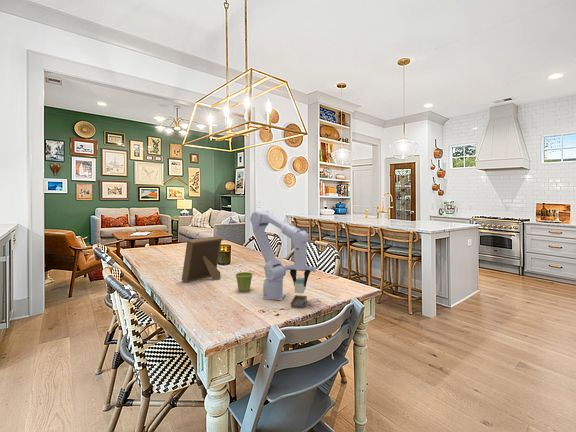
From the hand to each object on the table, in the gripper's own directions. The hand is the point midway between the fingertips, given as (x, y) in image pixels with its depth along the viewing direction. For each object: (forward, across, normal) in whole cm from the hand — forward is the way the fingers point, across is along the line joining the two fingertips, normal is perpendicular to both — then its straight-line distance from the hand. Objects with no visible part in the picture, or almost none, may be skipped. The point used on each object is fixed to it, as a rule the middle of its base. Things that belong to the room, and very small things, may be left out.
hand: (300, 286), depth 139 cm
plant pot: (+9, -32, +13) cm, 36 cm away
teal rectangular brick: (+2, 0, 0) cm, 2 cm away
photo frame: (+9, -62, +28) cm, 68 cm away
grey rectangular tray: (+8, 0, 0) cm, 8 cm away
